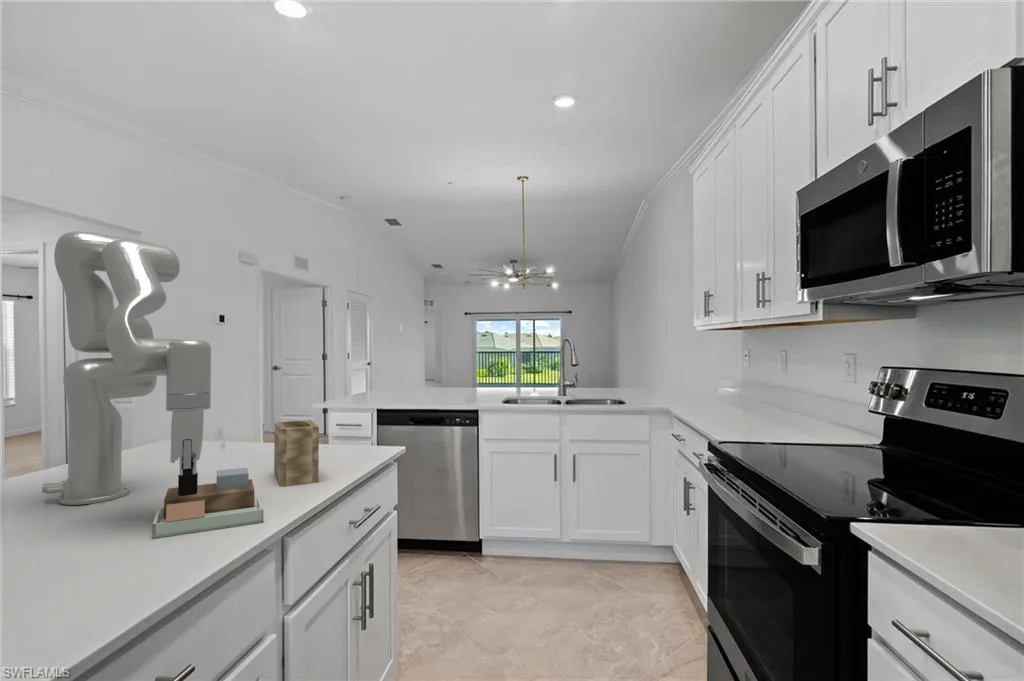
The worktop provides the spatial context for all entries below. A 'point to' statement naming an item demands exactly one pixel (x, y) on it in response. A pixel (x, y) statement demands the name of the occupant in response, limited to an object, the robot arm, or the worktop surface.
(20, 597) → the worktop surface
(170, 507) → the terracotta tile
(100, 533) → the worktop surface
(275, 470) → the utensil caddy
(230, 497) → the walnut board
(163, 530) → the tray
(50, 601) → the worktop surface
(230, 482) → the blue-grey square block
